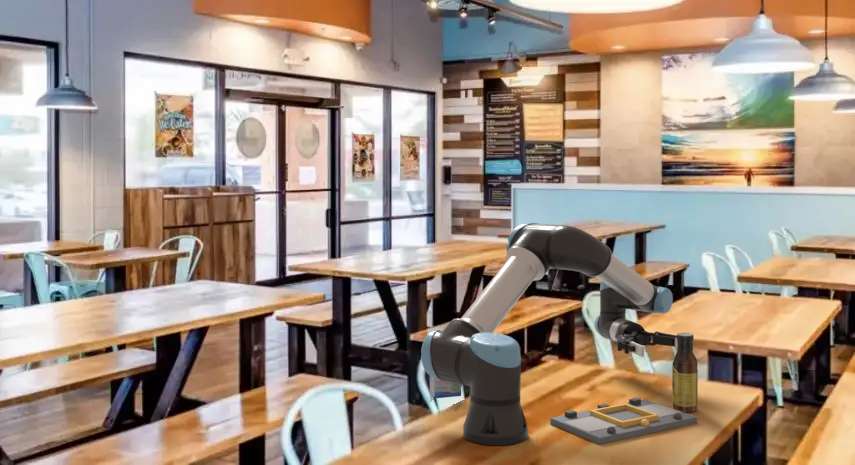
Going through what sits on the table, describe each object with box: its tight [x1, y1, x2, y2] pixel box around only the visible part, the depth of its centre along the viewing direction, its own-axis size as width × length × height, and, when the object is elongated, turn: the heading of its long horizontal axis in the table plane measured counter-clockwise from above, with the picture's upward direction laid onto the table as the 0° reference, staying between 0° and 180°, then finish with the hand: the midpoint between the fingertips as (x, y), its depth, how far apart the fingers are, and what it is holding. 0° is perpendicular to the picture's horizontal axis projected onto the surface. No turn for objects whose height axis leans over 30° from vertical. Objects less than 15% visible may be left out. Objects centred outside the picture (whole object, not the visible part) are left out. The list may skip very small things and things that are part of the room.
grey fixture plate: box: [549, 397, 698, 445], centre depth 216 cm, size 31×18×3 cm, turn 120°
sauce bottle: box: [671, 332, 699, 414], centre depth 226 cm, size 7×6×20 cm
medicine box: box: [429, 375, 462, 399], centre depth 242 cm, size 8×4×9 cm, turn 105°
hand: (666, 349), depth 235 cm, fingers open, 13 cm apart
